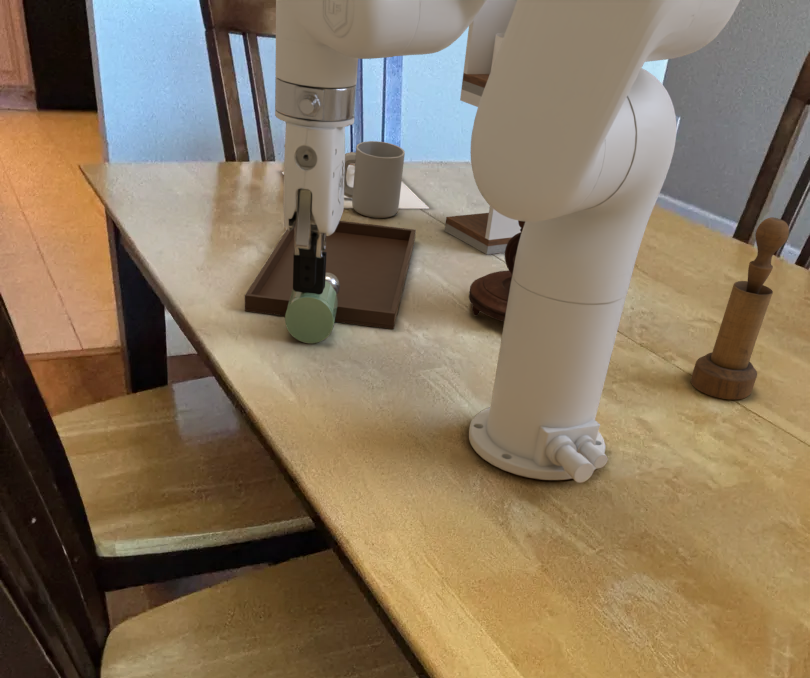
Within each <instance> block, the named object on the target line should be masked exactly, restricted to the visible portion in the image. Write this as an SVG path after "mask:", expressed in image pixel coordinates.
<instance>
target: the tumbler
mask: <svg viewBox="0 0 810 678" xmlns="http://www.w3.org/2000/svg"><path fill="white" fill-rule="evenodd" d="M337 305H338V300H337V294H336V292H335V290H334V289H333V287H332V286H331V284H330V283H328V282H326V281H325V288H324V290H323V292H322V294H315V293H308V292H305V293H303V292H296V291H294V290H292V293H291V297H290V300H289V303H288V307H287V310H286V314H285V316H284V323H285V326H286V330H287V331H288V332H289V334H290V335H291V336H292V337H293V338H294V339H296V340H297V341H299V342H302V343H304V344H317V343H320V342H323V341H324V340H326V339H327V338H328V337H329V336H330V335H331V333H332V331H333V329H334V324H335V322H334V321H335V316H336V311H337Z"/></svg>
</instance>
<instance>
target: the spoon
mask: <svg viewBox="0 0 810 678" xmlns="http://www.w3.org/2000/svg"><path fill="white" fill-rule="evenodd" d="M325 281H326V282H328V283H330V284H331V286H332V287H333V289H334V290H335V292H336V294H338V292H339V290H340V282H339V280H338V278H337V277H336V276H335V275H334V274H332V273H326V278H325Z"/></svg>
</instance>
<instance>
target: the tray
mask: <svg viewBox="0 0 810 678" xmlns="http://www.w3.org/2000/svg"><path fill="white" fill-rule="evenodd" d="M416 231H417V230H416V229H415V228H414V229H412V228H405V227H397V226H396V227H394V226H387V225H381V224H380V225H379V224H370V223H362V222H355V221H347V220H340V221H339V223H338V225H337V227H336V230H335V231H334V233H333V234H332V235H330V236H326V248H325V251H322V252H327V256H326V273H332V274H334V275H335V276H336V277H337V278H338V280H339V282H340V290H339V292H338V294H337V300H338V305H337V311H336V316H335V321H334V323H341V324H347V325H356V326H366V327H373V328H379V329H380V328H381V329H391V330H394V329H395V325H396V323H397V317H398V313H399V309H400V305H401V301H402V296H403V293H404V289H405V285H406V280H407V276H408V272H409V268H410V265H411V264H410V263H411V260H412V256H413V251H414V246H415V241H416V233H417V232H416ZM293 257H294V227H293V229H292V230H291V231H289V230H287V229H286V230H285V232H284V233H283V234H282V236H281V238H280V240H279V241H278V243H277V244H276V246H275V247H274V249H273V250H272V252H271V253H270V255H269V256H268V258H267V259H266V261H265V263H264V265H263V266H262V268H261V269H260V271H258V274H257V275H256V277H255V278H254V279H253V282H252V283H251V285H250V286H249V288H248V289H247V291H246V292H245V294H244V311H245V312H249V313H259V314H264V315H265V314H267V315H275V316H281V317H282V316H283V317H285V314H286V310H287V307H288V303H289V300H290V297H291V293H292V290H293Z"/></svg>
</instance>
